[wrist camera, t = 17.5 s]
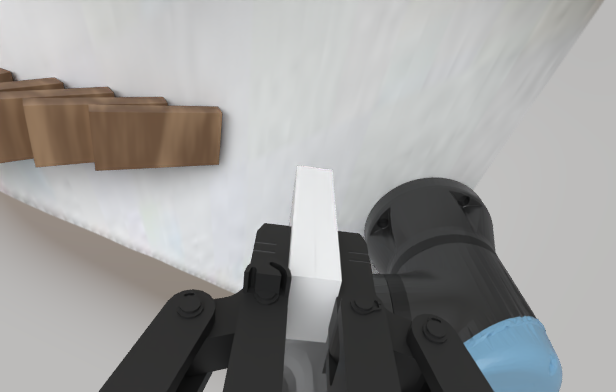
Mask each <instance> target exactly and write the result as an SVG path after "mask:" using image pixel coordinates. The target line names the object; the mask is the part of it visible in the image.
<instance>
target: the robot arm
mask: <svg viewBox="0 0 616 392" xmlns="http://www.w3.org/2000/svg"><path fill="white" fill-rule="evenodd" d="M369 257H370V259H369ZM370 260H371V262H372V263H373V265H374V266H375V268H376V269H377V270H378V272H379V273H380V274H372V270H371V264H370ZM226 368H228V369H227V374H226V378H225V384H224V388H223V392H559V389H560V387H561V383H562V368H561V364H560V361H559V359H558V356H557V354H556V353H555V350H554V349H553V346H552V344H551V342H550V340H549V339H548V337H547V335H546V330H545V328H544V326H543V324H542V323H541V322H540V321H539V320H538V319H537V318H536V317H535V315H534V313H533V312H532V310H531V309H530V307H529V306H528V304H527V302H526V301H525V299H524V298H523V296H522V294H521V293H520V291H519V290H518V288H517V286H516V285H515V284H514V282H513V280H512V278H511V277H510V275H509V274H508V272H507V270H506V269H505V267H504V266H503V264H502V263H501V261H500V260H499V258H498V256H497V255H496V253H495V244H494V234H493V225H492V220H491V217H490V214H489V212H488V210H487V208H486V207H485V205H484V204H483V202H482V201H481V199H480V198H479V196H478V195H477V194H476V193H475V192H474V191H473V190H472V189H470V188H469V187H467V186H466V185H464V184H462V183H460V182H457V181H454V180H450V179H445V178H424V179H418V180H414V181H410V182H407V183H405V184H402V185H400V186H398V187H396V188H395V189H393V190H391V191H390V192H388V193H387V194H386V195H385V196H383V197H382V198H381V199H380V200H379V201H378V202H377V203H376V205H375V206H374V207H373V209H372V210H371V212H370V214H369V216H368V218H367V221H366V225H365V240H364V239H363V238H362V236H361V235H360V234H358V233H349V232H341V231H338V230H337V218H336V207H335V195H334V183H333V171H332V170H330V169H323V168H315V167H307V166H300V165H297V171H296V178H295V185H294V192H293V199H292V206H291V213H290V222H289V226H284V225H276V224H267V223H264V224H263V225H262V226H261V228H260V229H259V230H258V231H257V234H256V239H255V244H254V249H253V254H252V259H251V263H250V264H249V265H248V266H247V268H246V270H245V272H244V285H243V289H242V290H240V291H239V292H238V293H236V294H234V295H232V296H229V297H225V298H219V299H213V298H212V297H211V296H210V295H209V294H207V293H205V292H203V291H200V290H186V291H182V292H180V293H177V294H175V295H174V296H173V297H172V298H171V299H170V300H168V302H167V303H166V304H165V305H164V307H163V308H162V309H161V311H160V312H159V313H158V315H157V316H156V317H155V319H154V320H153V321H152V322H151V324H150V325H149V326H148V328H147V329H146V330H145V332H144V333H143V334H142V335H141V337H140V338H139V339H138V341H137V342H136V344H135V345H134V346H133V347H132V349H131V350H130V352H128V354H127V355H126V357H125V358H124V359H123V361H122V362H121V363H120V364H119V366H118V367H117V368H116V370H115V371H114V372H113V374H112V375H111V376H110V377H109V379H108V380H107V381H106V383H105V384H104V385H103V387H102V388H101V389H100V390H99V392H203V390H204V388H205V386H206V384H207V382H208V380H209V378H210V376H211V374H212V372H213V371H216V370H221V369H226Z"/></svg>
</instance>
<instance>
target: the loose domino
mask: <svg viewBox="0 0 616 392" xmlns="http://www.w3.org/2000/svg"><path fill="white" fill-rule="evenodd" d="M88 107H89V119H90V127H91V136H92V145H93V153H94V162H95V170H96V171H102V170H121V169H141V168H161V167H180V166H200V165H219V153H220V139H221V125H222V112H221V110H220V109H219V108H218V107H210V106H153V105H96V104H88Z"/></svg>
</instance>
